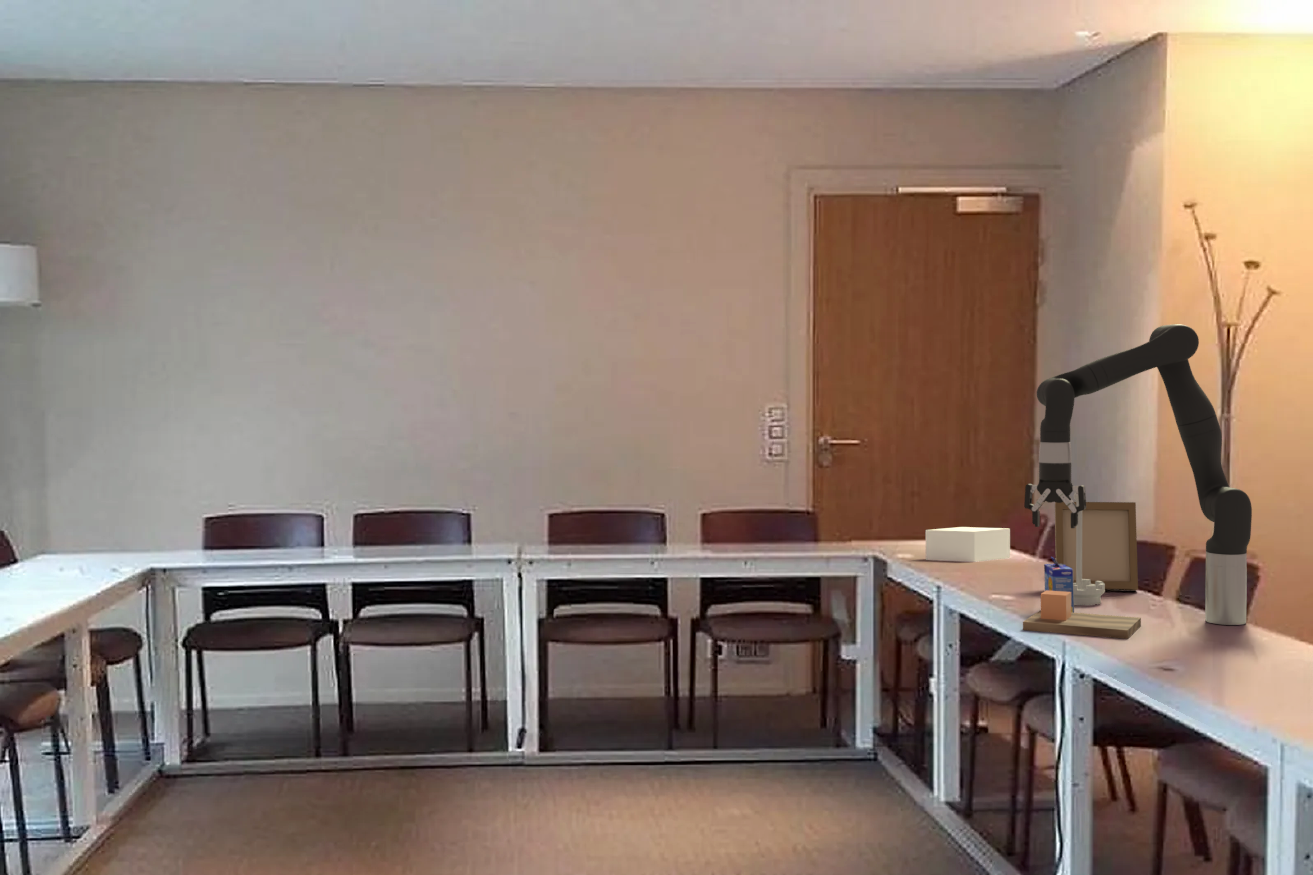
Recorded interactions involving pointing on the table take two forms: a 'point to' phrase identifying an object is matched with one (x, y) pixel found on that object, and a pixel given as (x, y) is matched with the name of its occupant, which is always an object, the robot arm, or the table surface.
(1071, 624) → the base plate
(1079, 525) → the flag stand
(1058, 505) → the photo frame
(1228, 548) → the robot arm
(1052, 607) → the orange cube
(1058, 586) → the ink cartridge box
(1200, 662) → the table surface
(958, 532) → the white rectangular box
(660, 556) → the table surface
